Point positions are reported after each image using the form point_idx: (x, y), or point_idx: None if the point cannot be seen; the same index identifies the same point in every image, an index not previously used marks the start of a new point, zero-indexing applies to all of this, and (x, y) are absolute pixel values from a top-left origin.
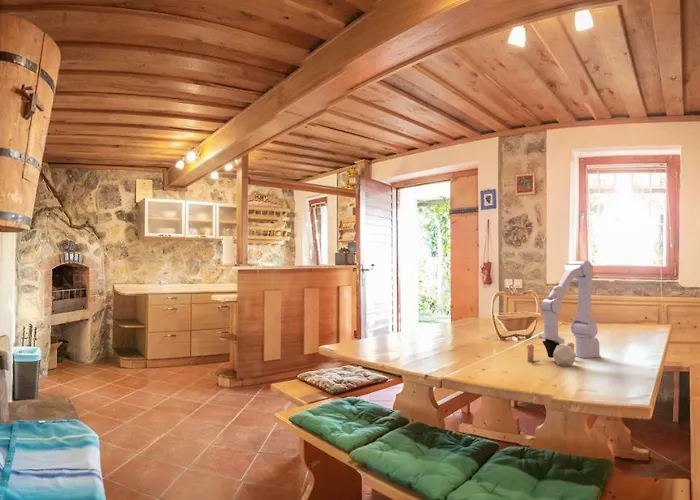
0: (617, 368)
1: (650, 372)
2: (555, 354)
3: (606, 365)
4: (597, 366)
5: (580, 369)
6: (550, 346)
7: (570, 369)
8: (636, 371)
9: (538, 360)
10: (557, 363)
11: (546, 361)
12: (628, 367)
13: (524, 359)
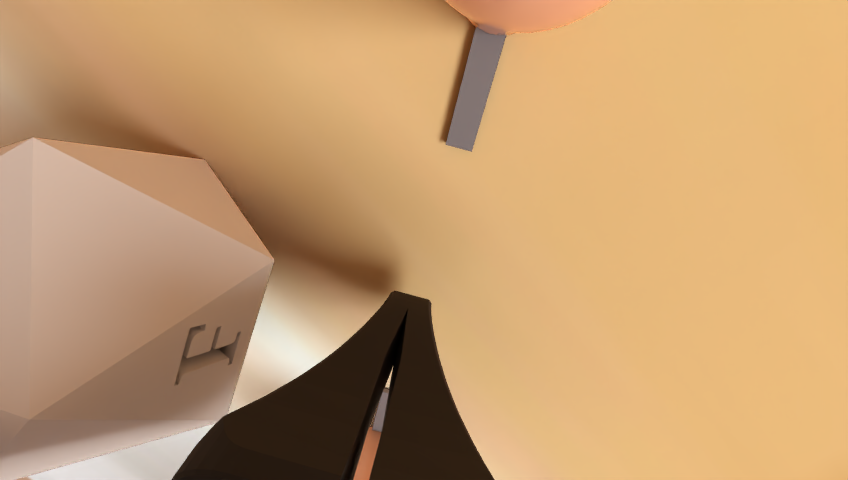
0: None
1: None
2: (11, 145)
3: (167, 447)
4: None
5: None
6: (273, 395)
7: (6, 112)
8: None
9: (469, 143)
10: (177, 156)
11: (405, 214)
12: (115, 476)
13: (679, 12)
